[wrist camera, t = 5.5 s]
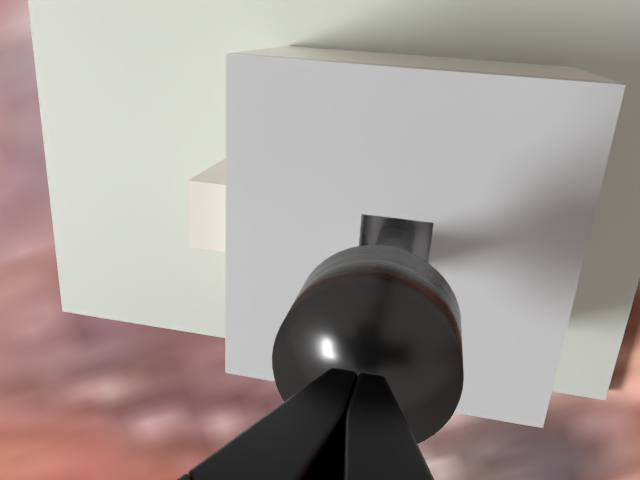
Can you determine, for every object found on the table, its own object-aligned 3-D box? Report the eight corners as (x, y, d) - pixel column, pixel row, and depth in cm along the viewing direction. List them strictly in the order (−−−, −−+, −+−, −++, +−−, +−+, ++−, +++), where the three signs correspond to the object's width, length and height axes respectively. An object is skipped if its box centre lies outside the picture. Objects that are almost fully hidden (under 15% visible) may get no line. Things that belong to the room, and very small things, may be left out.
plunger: (560, 113, 14) (654, 188, 8) (508, 364, 17) (547, 577, 10) (277, 89, 16) (154, 136, 9) (270, 326, 18) (169, 496, 12)
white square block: (572, 66, 18) (625, 84, 12) (518, 325, 21) (543, 428, 16) (246, 42, 20) (171, 49, 14) (243, 285, 23) (181, 364, 17)
